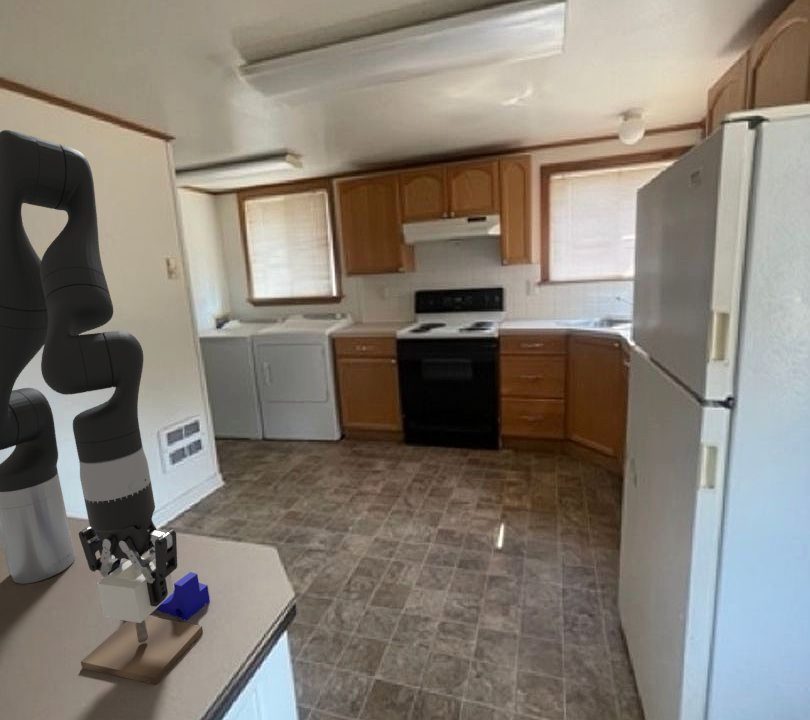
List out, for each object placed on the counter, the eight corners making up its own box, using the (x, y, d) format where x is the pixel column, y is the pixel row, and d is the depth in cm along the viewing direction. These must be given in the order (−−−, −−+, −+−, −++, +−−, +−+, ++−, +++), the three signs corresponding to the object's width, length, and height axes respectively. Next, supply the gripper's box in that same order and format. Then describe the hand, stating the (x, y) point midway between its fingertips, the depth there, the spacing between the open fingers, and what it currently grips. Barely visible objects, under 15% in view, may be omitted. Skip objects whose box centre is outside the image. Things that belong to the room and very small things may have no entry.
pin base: (82, 668, 63) (75, 638, 62) (135, 619, 71) (131, 593, 70) (155, 684, 59) (150, 653, 59) (202, 631, 68) (198, 603, 67)
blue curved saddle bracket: (210, 602, 75) (205, 568, 73) (186, 621, 71) (181, 586, 69) (157, 584, 80) (152, 553, 78) (133, 602, 76) (127, 568, 74)
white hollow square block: (139, 587, 68) (133, 556, 67) (173, 592, 66) (168, 560, 65) (103, 617, 62) (96, 583, 61) (140, 623, 61) (134, 588, 60)
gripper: (184, 475, 63) (201, 587, 66) (99, 470, 66) (119, 576, 69) (140, 503, 56) (162, 626, 59) (47, 495, 59) (72, 612, 62)
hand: (138, 598), depth 64 cm, fingers closed on white hollow square block, 6 cm apart
